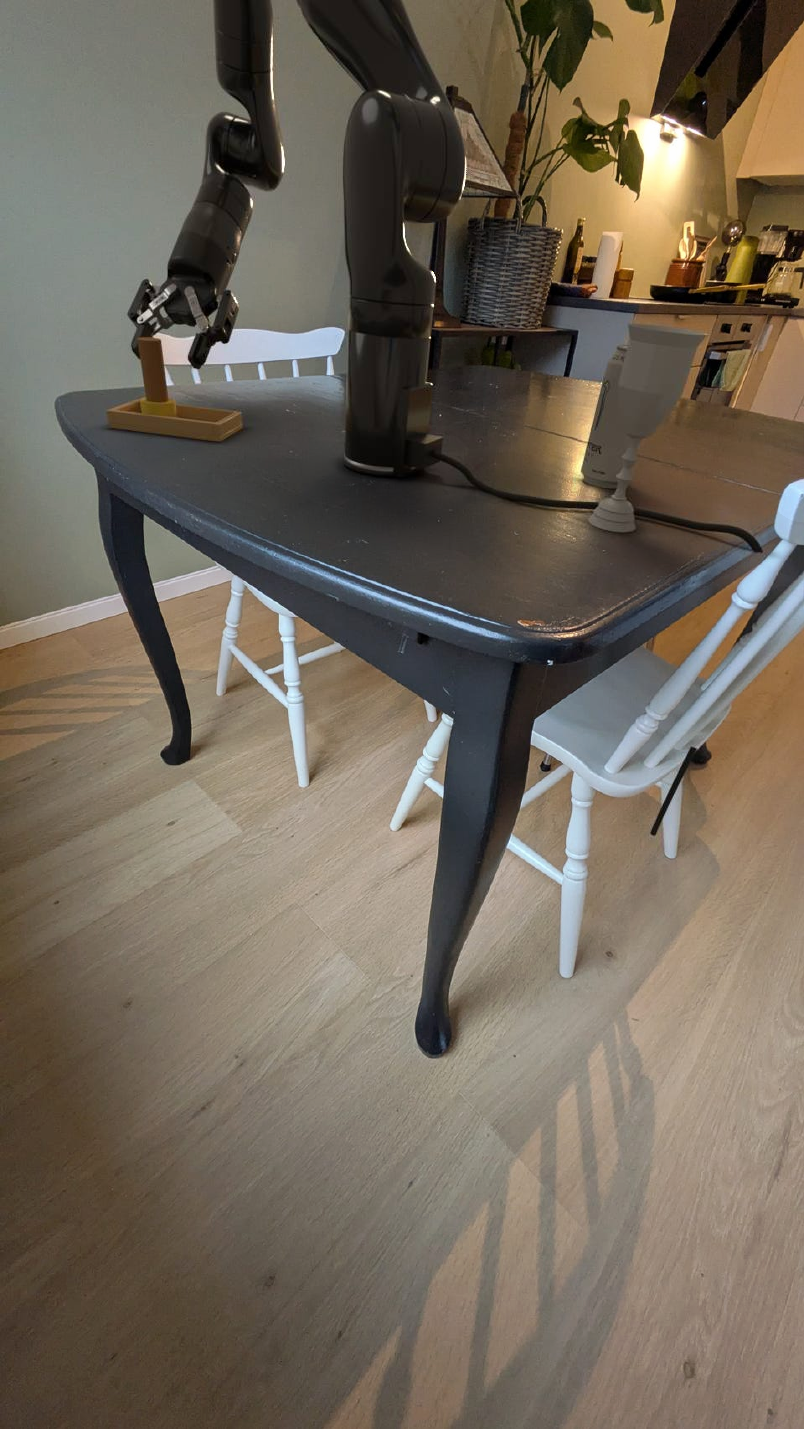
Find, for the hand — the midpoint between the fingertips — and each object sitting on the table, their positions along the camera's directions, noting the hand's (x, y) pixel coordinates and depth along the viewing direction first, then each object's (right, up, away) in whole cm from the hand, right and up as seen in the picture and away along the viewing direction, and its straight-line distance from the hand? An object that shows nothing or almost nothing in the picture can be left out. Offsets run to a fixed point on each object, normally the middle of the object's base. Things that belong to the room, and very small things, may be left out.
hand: (165, 360), depth 83 cm
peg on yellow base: (-1, -7, +2) cm, 7 cm away
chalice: (+54, -26, -15) cm, 62 cm away
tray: (+1, -8, +2) cm, 8 cm away
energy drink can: (+57, -17, -2) cm, 59 cm away
